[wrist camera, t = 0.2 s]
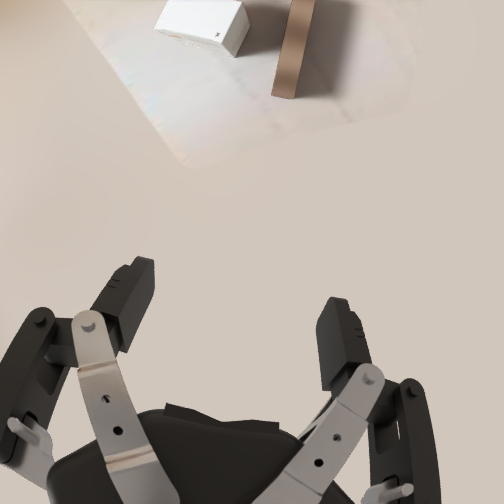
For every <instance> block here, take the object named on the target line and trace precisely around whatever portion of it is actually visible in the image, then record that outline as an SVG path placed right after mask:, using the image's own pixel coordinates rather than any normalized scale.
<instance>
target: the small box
mask: <svg viewBox="0 0 504 504" xmlns="http://www.w3.org/2000/svg"><path fill="white" fill-rule="evenodd" d="M249 28H250V23H249V20H248V17H247V13H246V10H245V7H244V4H243V2H242V1H238V0H168V2H167V4H166V6H165V8H164V10H163V12H162V14H161V16H160V18H159V20H158V22H157V24H156V26H155V28H154V29H155V30H156V31H158V32H160V33H162V34H164V35H166V36H168V37H170V38H172V39H174V40H176V41H178V42H180V43H182V44H185V45H189V46H194V47H198V48H202V49H206V50H210V51H213V52H217V53H220V54H224V55H227V56H230V57H233V58H235V57H236V55H237V52H238V50H239V48H240V46H241V44H242V42H243V40H244V38H245V36H246V34H247V32H248V30H249Z"/></svg>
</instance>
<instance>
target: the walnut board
mask: <svg viewBox="0 0 504 504" xmlns="http://www.w3.org/2000/svg"><path fill="white" fill-rule="evenodd" d="M314 4H315V0H292V3H291V7H290V12H289V16H288V20H287V25H286V29H285V34H284V38H283V43H282V47H281V52H280V56H279V61H278V65H277V70H276V75H275V79H274V84H273V89H272V93H271V96H276V97H281V98H286V99H294V95H295V90H296V86H297V81H298V77H299V72H300V68H301V63H302V59H303V54H304V50H305V45H306V41H307V36H308V32H309V27H310V22H311V18H312V13H313V9H314Z"/></svg>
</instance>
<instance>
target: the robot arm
mask: <svg viewBox="0 0 504 504" xmlns="http://www.w3.org/2000/svg"><path fill="white" fill-rule="evenodd" d="M154 288H155V277H154V260H152V259H149V258H144V257H140V256H137V257H136V258H135V260H134V261H133V263H132V264H131V265H130V266H129V265H123V266H122V267H120V268H119V269H117V270H116V271H115V272H114V274H113V275H112V277H111V279H110V280H109V281H108V283H107V284H106V286H105V287H104V289H103V290H102V291H101V293H100V294H99V296H98V298H97V299H96V301H95V302H94V304H93V305H92V307H91V308H90V310H85V311H82V312H80V313H78V314H77V315H76V316H75V317H74V318H55V316H54V314H53V312H52V311H51V310H50V309H49V308H46V307H40V308H36V309H34V310H33V311H31V312H30V313H29V315H28V316H27V318H26V319H25V321H24V322H23V324H22V326H21V327H20V329H19V331H18V332H17V334H16V336H15V337H14V339H13V341H12V342H11V344H10V346H9V348H8V350H7V352H6V353H5V355H4V357H3V359H2V361H1V363H0V464H1V465H3V466H5V467H7V468H9V469H12V470H14V471H15V472H17V473H18V474H20V475H22V476H23V477H24V478H26V479H28V480H29V481H31V482H33V483H34V484H36V485H38V486H40V487H42V488H43V489H45V490H47V493H48V496H49V500H50V503H51V504H355V503H354V502H353V501H352V500H351V499H350V498H349V497H348V496H347V495H346V494H345V492H344V491H343V490H342V489H341V488H340V487H339V486H338V485H337V483H335V481H334V480H333V479H334V478H335V477H336V475H337V474H338V472H339V471H340V469H341V468H342V467H343V465H344V464H345V462H346V461H347V459H348V457H349V456H350V455H351V453H352V451H353V450H354V448H355V447H356V445H357V443H358V442H359V440H360V438H361V437H362V435H363V433H364V432H365V430H366V428H367V427H368V439H369V456H370V480H371V481H370V484H371V487H370V488H369V489H368V490H367V491H366V492H365V494H364V497H363V498H362V499H361V504H441V489H440V477H439V468H438V460H437V453H436V447H435V440H434V434H433V429H432V424H431V419H430V414H429V409H428V405H427V401H426V397H425V392H424V389H423V387H422V385H421V384H420V383H419V382H418V381H416V380H415V379H412V378H407V379H405V380H404V381H402V382H401V383H400V384H399V383H396V382H392V381H390V380H387V379H385V378H384V375H383V373H382V372H381V370H380V369H379V368H378V367H376V366H375V365H373V364H372V361H371V357H370V353H369V349H368V346H367V341H366V338H365V334H364V331H363V327H362V324H361V320H360V319H359V318H358V316H357V315H356V313H355V312H353V311H350V308H349V304H348V301H347V300H346V299H342V298H336V297H330V298H329V300H328V301H327V303H326V305H325V307H324V309H323V311H322V313H321V315H320V317H319V318H318V321H317V325H316V336H317V345H318V353H319V362H320V371H321V381H322V390H323V391H331V394H332V396H331V397H330V398H329V400H328V401H327V402H326V404H325V405H324V406H323V408H322V409H321V410H320V411H319V413H318V414H317V415H316V417H315V418H314V419H313V420H312V422H311V423H310V424H309V425H308V427H307V428H306V429H305V430H304V431H303V432H302V433H301V434H300V435H299V436H298V437H297V438H296V437H294V436H293V435H291V434H289V433H288V432H285V431H283V430H280V429H279V422H270V421H259V420H243V421H230V422H221V421H218V420H216V419H214V418H211V417H209V416H207V415H205V414H202V413H200V412H198V411H196V410H193V409H189V408H184V407H180V406H176V405H172V404H168V403H166V406H165V409H155V410H149V411H145V412H142V413H139V414H137V413H136V411H135V408H134V406H133V404H132V401H131V399H130V396H129V394H128V391H127V389H126V386H125V383H124V381H123V378H122V375H121V372H120V369H119V367H118V363H117V360H116V357H117V354H118V352H119V351H121V352H124V353H127V352H128V350H129V347H130V345H131V343H132V340H133V338H134V336H135V334H136V331H137V329H138V327H139V325H140V323H141V321H142V318H143V316H144V314H145V312H146V310H147V308H148V306H149V304H150V302H151V299H152V297H153V293H154ZM71 367H76V368H79V370H77V374H78V379H79V382H80V387H81V391H82V395H83V398H84V402H85V405H86V408H87V412H88V415H89V418H90V421H91V424H92V427H93V430H94V433H95V436H96V440H94V441H92V442H90V443H89V444H87V445H85V446H83V447H82V448H80V449H78V450H76V451H75V452H73V453H71V454H69V455H67V456H65V457H63V458H62V459H60V460H58V461H57V462H54V459H53V456H52V446H53V445H52V439H51V436H50V434H49V433H48V432H47V428H48V425H49V422H50V419H51V416H52V414H53V411H54V408H55V405H56V402H57V400H58V397H59V394H60V392H61V389H62V387H63V384H64V382H65V379H66V377H67V375H68V372H69V370H70V368H71ZM397 421H398V427H399V434H400V439H399V436H398V428H397Z"/></svg>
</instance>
